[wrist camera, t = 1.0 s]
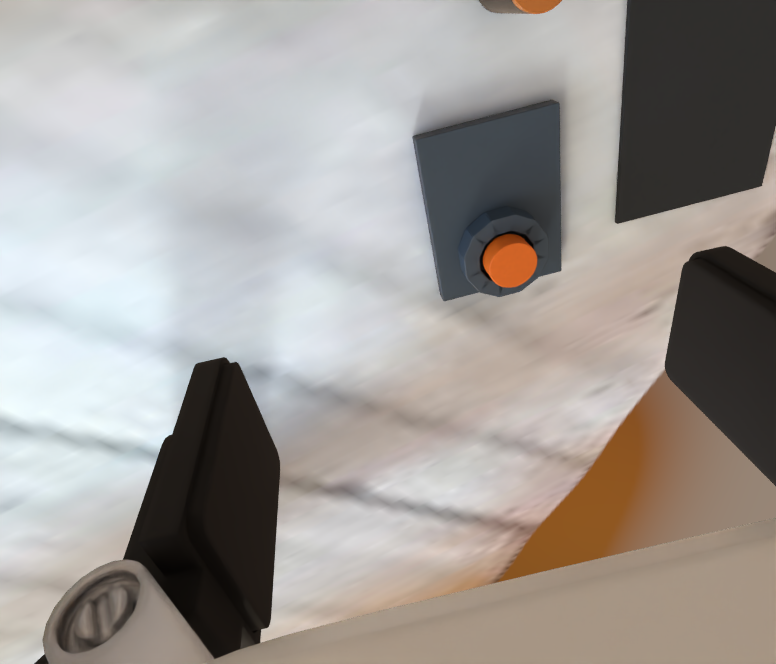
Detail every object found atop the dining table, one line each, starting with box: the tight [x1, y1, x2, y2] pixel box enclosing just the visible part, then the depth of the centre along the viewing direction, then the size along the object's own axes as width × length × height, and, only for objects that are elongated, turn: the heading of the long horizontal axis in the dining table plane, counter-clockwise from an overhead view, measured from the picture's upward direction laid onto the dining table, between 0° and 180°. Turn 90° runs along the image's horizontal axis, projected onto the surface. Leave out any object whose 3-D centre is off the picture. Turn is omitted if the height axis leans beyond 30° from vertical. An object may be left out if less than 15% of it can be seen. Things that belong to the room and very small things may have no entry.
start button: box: [483, 234, 537, 288], centre depth 36 cm, size 4×4×2 cm
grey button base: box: [413, 100, 561, 301], centre depth 36 cm, size 13×10×3 cm
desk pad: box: [615, 0, 776, 224], centre depth 34 cm, size 20×12×1 cm, turn 12°
